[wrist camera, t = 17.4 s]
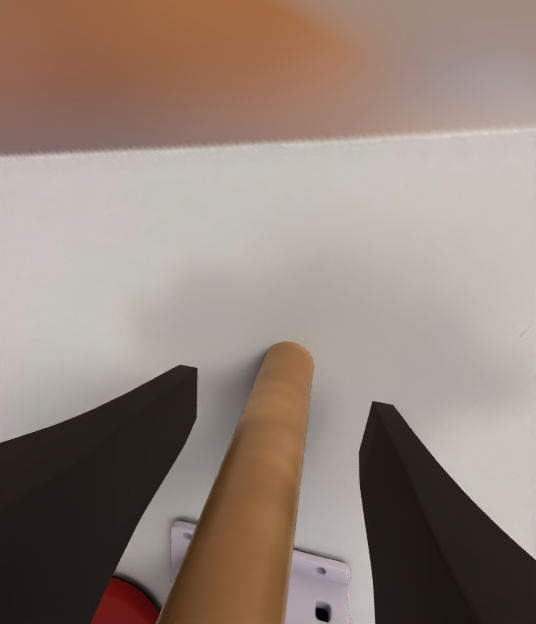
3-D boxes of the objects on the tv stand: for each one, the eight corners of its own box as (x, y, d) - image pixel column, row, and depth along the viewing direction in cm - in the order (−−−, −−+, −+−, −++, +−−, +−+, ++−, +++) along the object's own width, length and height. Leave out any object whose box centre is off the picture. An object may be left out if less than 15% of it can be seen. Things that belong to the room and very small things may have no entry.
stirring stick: (317, 345, 13) (284, 652, 4) (310, 389, 13) (271, 720, 5) (266, 337, 13) (145, 609, 5) (262, 380, 14) (152, 679, 5)
